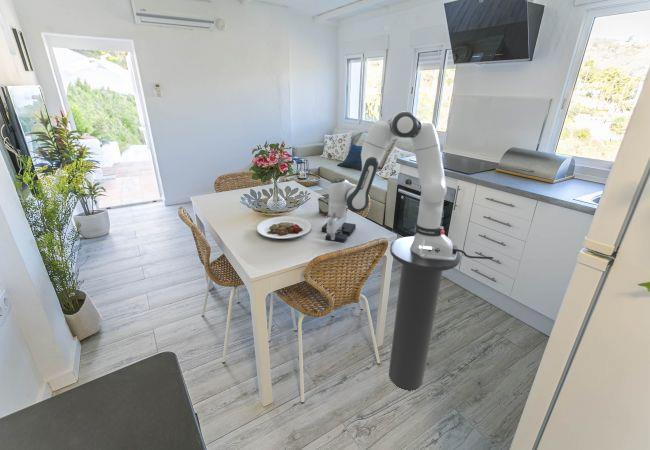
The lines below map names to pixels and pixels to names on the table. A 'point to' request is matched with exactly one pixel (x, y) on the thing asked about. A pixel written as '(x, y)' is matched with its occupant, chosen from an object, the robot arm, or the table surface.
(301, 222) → the plated food
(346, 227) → the black pad
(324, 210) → the food container
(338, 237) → the grey pad
